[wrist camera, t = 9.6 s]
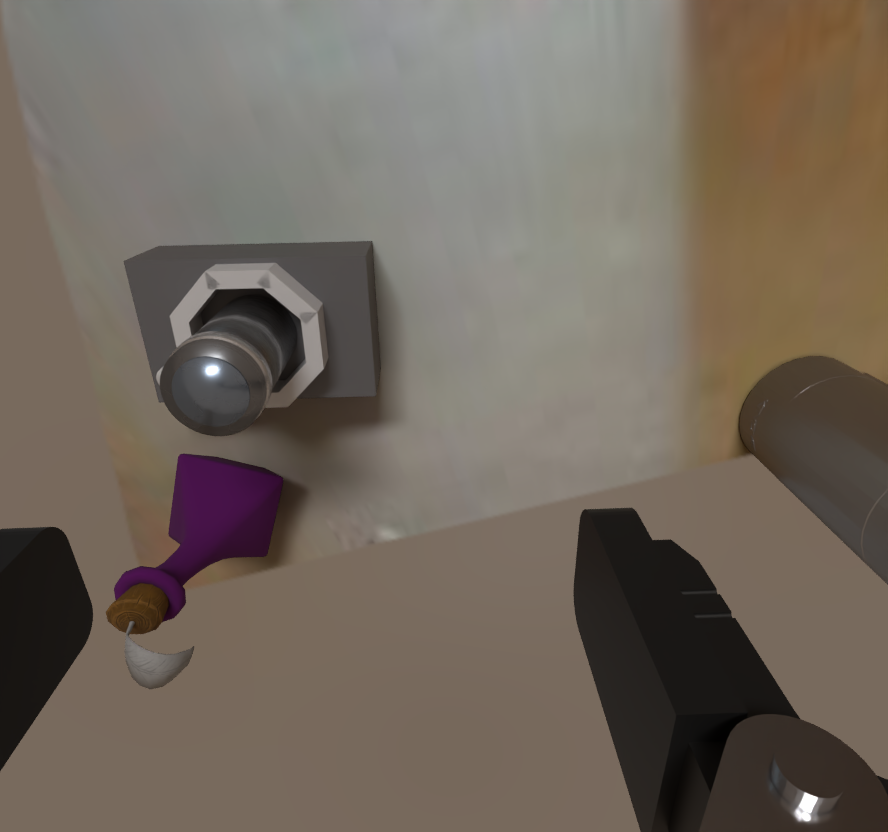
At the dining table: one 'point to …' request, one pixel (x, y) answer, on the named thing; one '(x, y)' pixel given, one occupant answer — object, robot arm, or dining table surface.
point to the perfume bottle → (194, 551)
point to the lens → (229, 366)
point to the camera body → (282, 279)
